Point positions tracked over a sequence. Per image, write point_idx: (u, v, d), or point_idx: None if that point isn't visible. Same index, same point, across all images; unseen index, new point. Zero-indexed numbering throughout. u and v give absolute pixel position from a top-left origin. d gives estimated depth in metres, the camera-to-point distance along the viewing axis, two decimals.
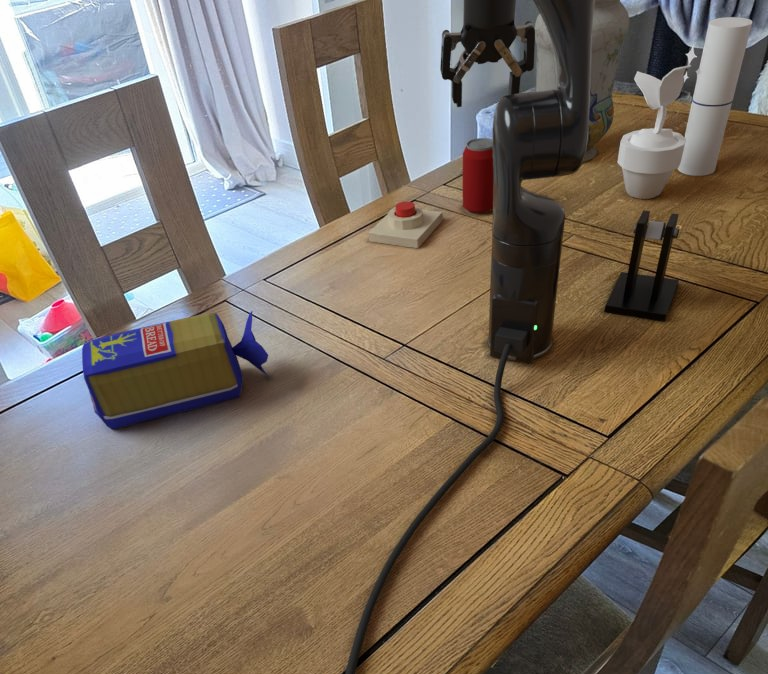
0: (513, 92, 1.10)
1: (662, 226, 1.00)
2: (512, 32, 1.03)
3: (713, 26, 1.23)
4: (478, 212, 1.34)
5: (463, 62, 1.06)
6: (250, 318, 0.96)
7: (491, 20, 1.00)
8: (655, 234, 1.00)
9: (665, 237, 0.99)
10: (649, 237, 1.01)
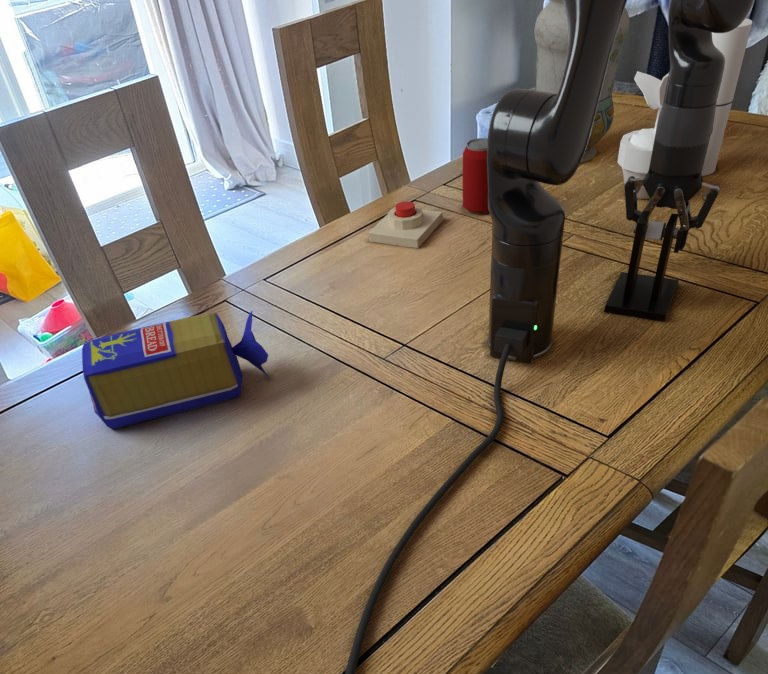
0: (677, 244, 1.10)
1: (662, 226, 1.00)
2: (696, 185, 1.03)
3: None
4: (478, 212, 1.34)
5: (645, 207, 1.08)
6: (250, 318, 0.96)
7: (670, 169, 1.01)
8: (655, 234, 1.00)
9: (665, 237, 0.99)
10: (649, 237, 1.01)
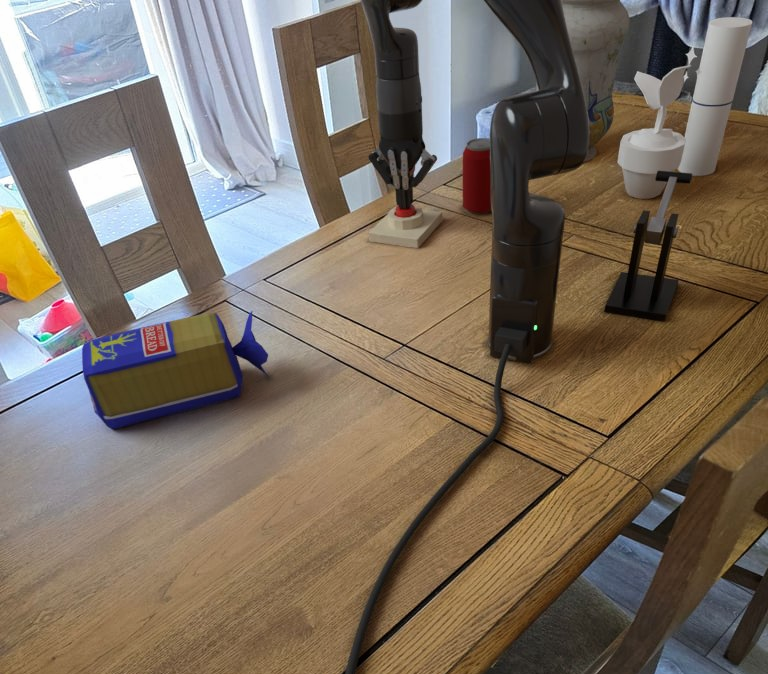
0: (404, 201, 1.28)
1: (660, 235, 1.00)
2: (417, 150, 1.20)
3: (713, 26, 1.23)
4: (478, 212, 1.34)
5: None
6: (250, 318, 0.96)
7: (390, 134, 1.17)
8: (654, 240, 1.01)
9: (665, 237, 0.99)
10: (649, 242, 1.02)
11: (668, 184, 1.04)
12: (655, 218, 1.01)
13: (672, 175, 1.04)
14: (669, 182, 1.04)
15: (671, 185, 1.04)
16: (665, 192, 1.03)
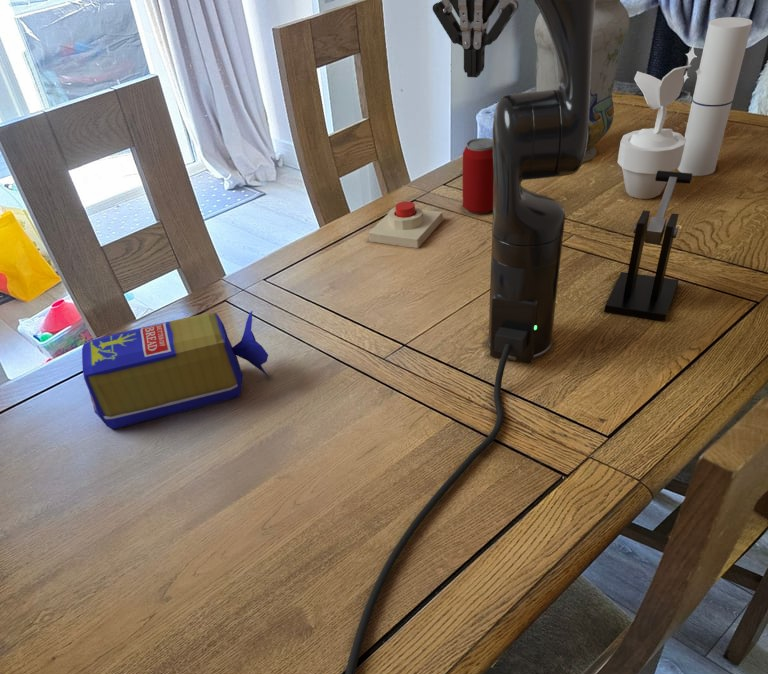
0: (474, 66, 1.05)
1: (660, 235, 1.00)
2: None
3: (713, 26, 1.23)
4: (478, 212, 1.34)
5: None
6: (250, 318, 0.96)
7: None
8: (654, 240, 1.01)
9: (665, 237, 0.99)
10: (649, 242, 1.02)
11: (668, 184, 1.04)
12: (655, 218, 1.01)
13: (672, 175, 1.04)
14: (669, 182, 1.04)
15: (671, 185, 1.04)
16: (665, 192, 1.03)
